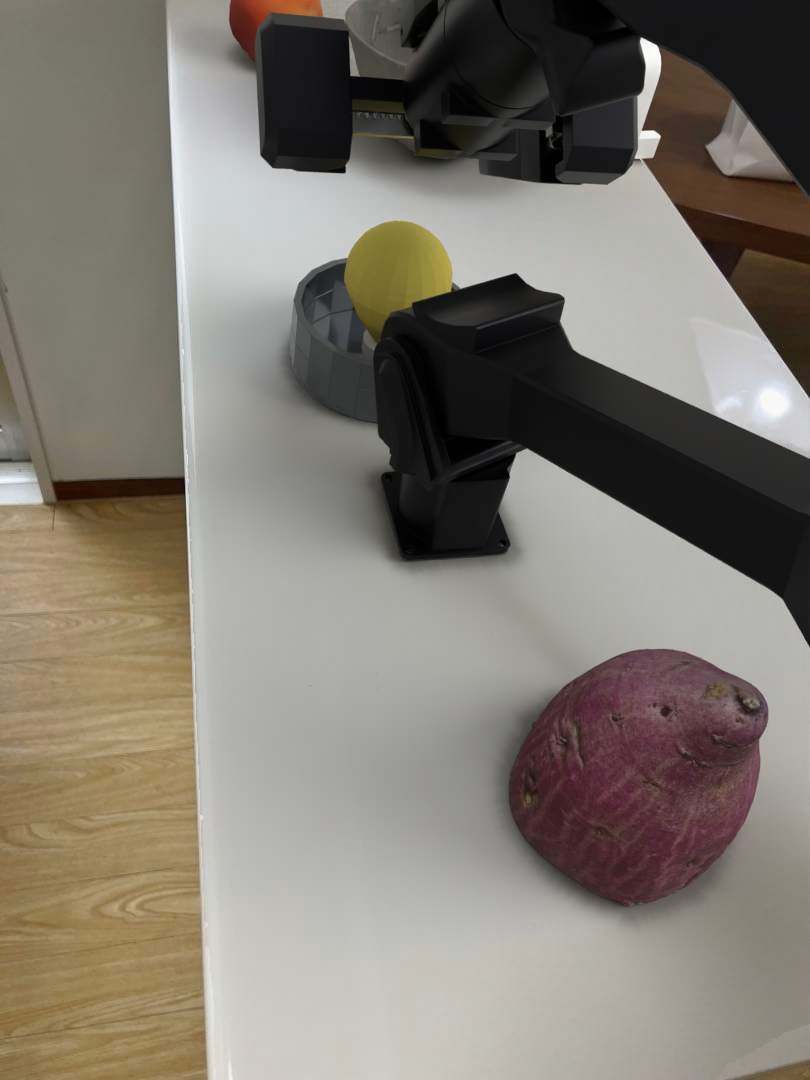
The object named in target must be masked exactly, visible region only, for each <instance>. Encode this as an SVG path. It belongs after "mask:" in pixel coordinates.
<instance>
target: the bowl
mask: <svg viewBox="0 0 810 1080" xmlns="http://www.w3.org/2000/svg"><path fill="white" fill-rule="evenodd" d="M409 2H410V0H355V1H354V2H353V3H352V4H351V5H349V7H347V9H346V11H345V15H344V18H345V19H344V21H345V23H346V26H347V28H348V30H349V42H350V44H351V48H352V51H353V55H354V60H355V64H356V68H357V71H358V75H359V76H360V77H373V78H386V79H398V80H402V79H403V75H404V71H405V68H406V66H407V64H408V62H409V60H410V58H411V48H404V47H401V40H400V18H401V16H402V14H403V13H404V11H405V9H406V7H407V5H408V3H409ZM381 115H382V118H383V119H384V116H385V114H381ZM389 116H390V118H391V119H392V117H393V115H389ZM397 116H398V119H399V120H400V117H401V115H397ZM405 117H406V116H405ZM406 119H407V118H406ZM395 140H397V141H398V142H399V143H401V145H403V146H404V147H406V148H407V149H408V150H410V151H412V152H414V139H408V138H395ZM425 157H427V158H430V159H431V158H432V159H436V160H445V161H446V160H449V161H450V160H459V159H460V158H452V157H434V156H425Z"/></svg>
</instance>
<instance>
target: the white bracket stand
mask: <svg viewBox="0 0 810 1080" xmlns="http://www.w3.org/2000/svg"><path fill="white" fill-rule="evenodd" d="M640 43H641V47H642V51H643V55H644V59H645V63H646V73H645V83H644V89H643V91H642V93H641V94H640V95H639V96H637V97H638V150H637V153H636V156H635V158H634V160H641V159H642V160H643V159H653V158H654V157H655V154H656V151H657V149H658V145H659V144H660V141H661V137H662V136H661V135H660V133H658V132H657V131H656V130H643V128H644V124H645V122H646V120H647V116H648V113H649V109H650V107H651V104H652V101H653V98H654V95H655V92H656V89H657V86H658V83H659V80H660V76H661V70H662V57H661V52H660V47H659V46H657V45H655V44H653V43H651V42H649V41H647V40H645V39H643V38H641V40H640Z"/></svg>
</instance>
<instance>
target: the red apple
mask: <svg viewBox="0 0 810 1080" xmlns="http://www.w3.org/2000/svg"><path fill="white" fill-rule="evenodd" d="M321 2H322V1H321V0H230V2H229V11H228V12H229V13H228V23H229V28H230V31H231V34H232V36H233V38H234V40H236V42H237V43H238V45H239V46H240V48H241V50H243V51H244V53H245V54H246V55H247V56H248V57H249V58H250V59H251V60H252V61H253V62H254V63H256V61H255V39H256V34H257V30H258V26H259V25H260V24H261V23H262V22H263V21H264V19H265V18H266V17H267V16H268V15H269V14H270V12H273V13H284V14H294V15H305V16H315V17H324V13H323V7H322V3H321Z"/></svg>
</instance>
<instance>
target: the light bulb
mask: <svg viewBox="0 0 810 1080" xmlns="http://www.w3.org/2000/svg"><path fill="white" fill-rule="evenodd" d="M347 258H348V259H347V263H346V268H345V274H344V282H345V285H346V288H347V290H348V293H349V295H350V298H351V300H352V303H353V305H354V308H355V310H356V313H357V315H358V317H359V318H360V320H361V322H362V323H363V325H364V326H365V328H366V329H367V330H366V331H365V332H364V336H363V342H362V351H363V353H364V355H365V356H366V357H367V358H366V359H370V360H373V355H374V350H375V347H376V345H377V344H378V342H379V341H380V340H381V332H382V329H383V326H384V323H385V321H386V320H387V319H388V316H389V314H390V313H391V312H394V311H397V310H401V309H404V308H408V307H411V306H412V303H413V302H415V301H419V300H422V299H426V298H429V297H433V296H436V295H440V294H443V293H447V292H450V291H451V288H452V282H453V266H452V262H451V259H450V256H449V254H448V252H447V250H446V248H445V245H443V243H442V241H441V240H440V239H439V238H438V237H437V236H436V235H435V234H434V233H432V232H431V230H429V229H427V228H426V227H423V226H422V225H420V224H417V223H415V222H412V221H407V220H391V221H386V222H382V223H379V224H377V225H375V226H373V227H371V228H369V229H368V230H367V231H365V232H364V233H363V234H362V235H361V236H360V237H359V238H358V239H357V241H356V242H355V243H354V244H353V246H352V248H350V251H349V253H348V256H347Z"/></svg>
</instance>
